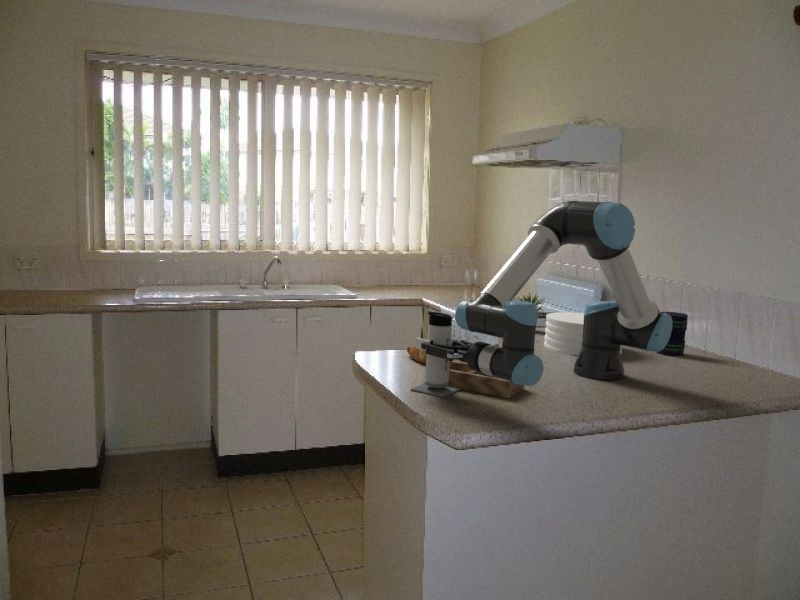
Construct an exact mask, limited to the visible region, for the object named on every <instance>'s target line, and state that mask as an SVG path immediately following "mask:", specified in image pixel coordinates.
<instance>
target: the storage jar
mask: <svg viewBox="0 0 800 600" xmlns="http://www.w3.org/2000/svg"><path fill="white" fill-rule="evenodd" d="M660 312H661V313H666V314H669V315H670V316H671V318H672V331H671V335H670V338H669V341H668V343H667V345H666V346H665V348H664V349H663V350H661V351H658V352H655V353H656V354H657V355H660V354H661V356H665V357H673V356H681V357H684V356H683V355H684V354H685V353H684V352H685V349H686V348H685V347H686V339H685V338H686V331H687V330H688V324H689V323H688V318H689V315H688V314H686V313H682V312H674V311H660Z"/></svg>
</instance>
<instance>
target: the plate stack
mask: <svg viewBox="0 0 800 600" xmlns="http://www.w3.org/2000/svg"><path fill="white" fill-rule="evenodd" d="M584 313H585V312H573V311H570V312H567V311H566V312H561V311H560V312H550V313H547V314H546V316H545V318H546V321H545V329H544V333H545V334H544V337H543V338H544V342H543V347H545V348H546V349H548V350H550V351H554V352H558V353H562V354H567V355H572V356H578V355H579V352H580V350H581V347H582V336H583V324H584ZM622 348H623V345H621V346H620V354H621V355H622V352H623V349H622Z"/></svg>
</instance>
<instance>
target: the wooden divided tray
mask: <svg viewBox="0 0 800 600" xmlns="http://www.w3.org/2000/svg"><path fill="white" fill-rule="evenodd" d="M448 386H453V387H458V388H461V390H464V391H465V390H466V391H470V392H474V393H475V392H476V393H480V394H485V395H491V396H495V397H500V398H506V399H510V398H512V397H513V396H514V395H516V394H518V393H520V392H522V391H524V390H525V385H520V384H515V383H513V382H510V381H507V380H504V379H501V378H497V377H493V376H490V375H486V374H484V373H481V372H477V371H474V370H472V369H470V368H469V366H468V364H467V362H461V361H459V360H455V361H450V367H449V384H448Z"/></svg>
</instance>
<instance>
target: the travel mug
mask: <svg viewBox="0 0 800 600" xmlns="http://www.w3.org/2000/svg"><path fill="white" fill-rule="evenodd" d="M427 315H428V316H429V317H428V327H427V328H428V329H427V330H428V331H427V340H428V341H430V340H433V342H434V344H440V345H446V346H451V340H452V331H453V330H452V327H453V323H452V322H453V317H452V316H451V315H450V314H448V313H443V312H437V311H427ZM425 367H426V368H425V381H424V382H425V384H426V385H427V386H429V387H434V388H444V387H447V386H448V384H449V367H450V361H448V360H446V359H443V358H439V357H436V356H432V355H428V354H427V362H426V364H425Z"/></svg>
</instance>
